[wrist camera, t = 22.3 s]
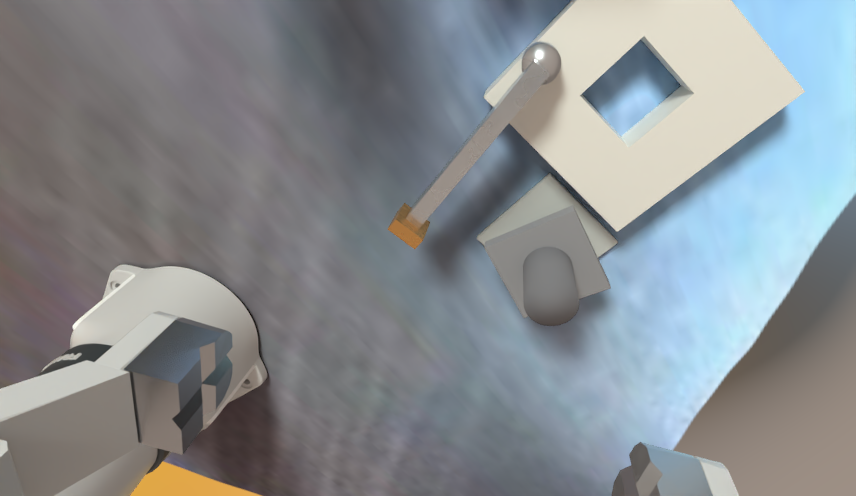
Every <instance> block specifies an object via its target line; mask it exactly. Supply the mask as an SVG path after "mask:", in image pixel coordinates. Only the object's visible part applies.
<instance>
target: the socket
mask: <svg viewBox="0 0 856 496" xmlns="http://www.w3.org/2000/svg"><path fill="white" fill-rule="evenodd" d="M640 39H641V40H642V41H643V42H644V43H645V45H646V46H647V47H648V48H649V49H650V50H651V51H652V53H653V54H654V55H655V56H656V57H657V58H658V59H659V61H660V62H661V63H662V64H663V65H664V66H665V67H666V69H667V70H668V71H669V72H670V73H671V74H672V75H673V77H674V78H675V79H676V80H677V81H678V82H679V83H680V85H681V86H680V87H679V88H678V89H677V90H675V91H674V92H673V93H672V94H671V95H670V96H668V97H667V98H666V99H665V100H664V101H662V102H661V103H660V104H659V105H658V106H657V107H655V108H654V109H653V110H652V111H651V112H649V113H648V114H647V115H646V116H645V117H644V118H642V119H641V120H640V121H639V122H638V123H636V124H635V125H634V126H633V127H632V128H631V129H629V130H628V131H627V132H626V133H625V134H623V135H622V136H620V135H619V134H618V132H617V131H616V130H615V129H614V128H613V127H612V126H611V125H610V124H609V123H608V122H607V121H606V120H605V119H604V117H603V116H602V115H601V114H600V113H599V112H598V111H597V110H596V109H595V108H594V107H593V106H592V105H591V104H590V103H589V101H588V100H587V99H586V98H585V97H584V96H583V95H582V93H583V92H584V91H585V90H586V89H587V88H589V87H590V86H591V85H592V84H593V83H594V82H595V81H596V80H597V79H598V78H599V77H600V76H601V75H603V74H604V73H605V72H606V71H607V70H608V69H609V68H610V67H611V66H612V65H613V64H614V63H615V62H617V61H618V60H619V59H620V58H621V57H622V56H623V55H624V54H625V53H626V52H627V51H628V50H629V49H631V48H632V47H633V46H634V45H635V44H636V43H637V42H638V41H639V40H640ZM539 41H545V42H549V43H551V44H552V45H554V46H555V48H556V49H557V51H558V53H559V54H560V57H561V69H560V72H559V74H558V75H557V77H556V78H555V79H554V80H553V81H551V82H550V83H548V84H545V85H541V86H540V87H539V88H538V90H537V91H536V92H535V93H534V94H533V95H532V97H531V98H530V99H529V100H528V101H527V102H526V104H525V105H524V106H523V107H522V108H521V110H520V111H519V112H518V113H517V114H516V115H515V117H514V118H513V119H512V120H511V121H510V122H509V123H510V124H511V125H512V126H513V127H514V128H515V129H516V130H517V132H518V133H519V134H520V135H521V136H522V137H523V138H524V139H525V140H526V141H527V142H528V143H529V144H530V145H531V146H532V147H533V148H534V149H535V150H536V151H537V152H538V153H539V154H540V155H541V156H542V157H543V158H544V159H545V160H546V161H547V162H548V163H549V164H550V165H551V166H552V167H553V168H554V169H555V170H556V171H557V172H558V173H559V174H560V175H561V176H562V177H563V178H564V179H565V180H566V181H567V182H568V183H569V184H570V185H571V186H572V187H573V188H574V189H575V190H576V191H577V192H578V193H579V194H580V195H581V196H582V197H583V198H584V199H585V200H586V201H587V202H588V203H589V204H590V205H591V206H592V207H593V208H594V209H595V210H596V211H597V212H598V213H599V214H600V215H601V216H602V217H603V218H604V219H605V220H606V221H607V222H608V223H609V224H610V225H611V226H612V227H613V228H614V229H615V230H616V231H617V232H618V231H619V230H621V229H622V228H623V227H625V226H626V225H627V224H629V223H630V222H631V221H633V220H634V219H635V218H637V217H638V216H639V215H641V214H642V213H643V212H645V211H646V210H647V209H649V208H650V207H651V206H653V205H654V204H655V203H657V202H658V201H659V200H661V199H662V198H663V197H665V196H666V195H667V194H669V193H670V192H671V191H673V190H674V189H675V188H677V187H678V186H679V185H681V184H682V183H683V182H685V181H686V180H687V179H689V178H690V177H691V176H693V175H694V174H695V173H697V172H698V171H700V170H701V169H702V168H704V167H705V166H706V165H708V164H709V163H710V162H712V161H713V160H714V159H716V158H717V157H718V156H720V155H721V154H722V153H724V152H725V151H726V150H728V149H729V148H730V147H732V146H733V145H734V144H736V143H737V142H738V141H740V140H741V139H742V138H744V137H745V136H746V135H748V134H749V133H750V132H752V131H753V130H754V129H756V128H757V127H758V126H760V125H761V124H762V123H764V122H765V121H766V120H768V119H769V118H770V117H772V116H773V115H774V114H776V113H777V112H778V111H780V110H781V109H782V108H784V107H785V106H786V105H788V104H789V103H791V102H792V101H793V100H795V99H796V98H797V97H799V96H800V95H801V94H803V93H804V92H805V91H804V90H803V89H802V87H801V86H800V85H799V84H798V82H797V81H796V80H795V79H794V77H793V76H792V75H791V74H790V72H789V71H788V70H787V69H786V67H785V66H784V65H783V64H782V63H781V61H780V60H779V59H778V58H777V56H776V55H775V54H774V53H773V51H772V50H771V49H770V48H769V46H768V45H767V44H766V43H765V41H764V40H763V39H762V38H761V37H760V35H759V34H758V33H757V32H756V30H755V29H754V28H753V27H752V25H751V24H750V23H749V22H748V20H747V19H746V18H745V17H744V15H743V14H742V13H741V12H740V11H739V9H738V8H737V7H736V6H735V4H734V3H733V2H732V1H731V0H572V1H571V2H570V3H569V4H568V5H567V6H566V7H565V8H564V9H563V10H562V11H561V12H560V13H559V14H558V15H557V16H556V17H555V18H554V19H553V20H552V21H551V23H550V24H549V25H548V26H547V27H546V28H545V29H544V30H543V31H542V32H541V33H540V34H539V35H538V36H537V37H536V38H535V39H534V40H533V41H532V42H531V43H530V44H529V45H528V46H527V48H528V47H529V46H530V45H531V44H533V43H535V42H539ZM527 48H526V49H527ZM526 49H525V50H526ZM525 50H524V51H523V52H522V53H521V54H520V55H519V56H518V57H517V58H516V59H515V60H514V61H513V62H512V63H511V64H510V65H509V66H508V67H507V68H506V69H505V70H504V72H503V73H502V74H501V75H500V76H499V77H498V78H497V79H496V80H495V81H494V82H493V83H492V84H491V85H490V86H489V87H488V88H487V89H486V92H485V95H484V98H485V99H486V100H487V101H488V102H489V103H490V104H491V105H492V106H493V107H494V106H495V104H496V103H497V102H498V101H499V100H500V98H501V97H502V96H503V95H504V93H505V92H506V91H507V90H508V89H509V87H510V86H511V85H512V84H513V82H514V81H515V80H516V79H517V78H518V76H519V75H520V74H521V73H522V56H523V54H524V52H525Z"/></svg>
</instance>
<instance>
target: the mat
mask: <svg viewBox="0 0 856 496" xmlns="http://www.w3.org/2000/svg"><path fill="white" fill-rule="evenodd" d="M572 205H573V206H574V208H575V210H576V212H577V214H578V216H579V219H580V221H581V223H582V225H583V227H584V229H585V231H586V234H587V236H588V238H589V240H590V242H591V244H592V246H593V249H594V251H595V253H596V255H597V257H599V256H601V255H602V254H603V253H605V252H606V251H608V250H609V249H610V248H612V247H613V246H614V245H616V244H617V243H618V241H617V240H616V239H615V238H614V237H613V236H612V235H611V234H610V233H609V232H608V231H607V230H606V229H605V228H604V227H603V226H602V225H601V224H600V223H599V222H598V221H597V220H596V219H595V218H594V217H593V216H592V215H591V214H590V213H589V212H588V211H587V210H586V209H585V208H584V206H583V205H582V204H581V203H580V202H579V201H578V200H577V199H576V198H575V197H574V196H573V195H572V194H571V193H570V192H569V191H568V190H567V189H566V188H565V187H564V186H563V185H562V184H561V183H560V182H559V181H558V180H557V179H556V178H555V177H554V176H553V175H552V174H551V173H549V174H548V175H547V176H545V177H544V178H543V179H542V180H541V181H540V182H539V183H537V184H536V185H535V186H534V187H533V188H532V189H530V190H529V191H528V192H527V193H526V194H525V195H524V196H522V197H521V198H520V199H519V200H518V201H517V202H516V203H514V204H513V205H512V206H511V207H510V208H509V209H508V210H506V211H505V212H504V213H503V214H502V215H501V216H500V217H498V218H497V219H496V220H495V221H494V222H493V223H492V224H490V225H489V226H488V227H487V228H486V229H485V230H484V231H482V232H481V233H480V234H479V235H478V236H477V239H478V240H479V241H480V242H481V243H482V244H483V245H484V246H485V241H488V240H490V239H493V238H495V237H497V236H500V235H502V234H505V233H507V232H509V231H512V230H514V229H517V228H519V227H521V226H524V225H526V224H529V223H531V222H533V221H536V220H538V219H541V218H543V217H545V216H548V215H550V214H553V213H555V212H557V211H560V210H562V209H565V208H567V207H570V206H572Z"/></svg>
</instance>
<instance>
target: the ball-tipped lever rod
mask: <svg viewBox="0 0 856 496" xmlns="http://www.w3.org/2000/svg"><path fill="white" fill-rule="evenodd" d="M560 69H561V57H560V54H559V53H558V51H557V49H556V48H555V46H554V45H552V44H551V43H549V42H545V41H539V42H535V43H533V44H531V45H530V46H529V47H528V48H527V49H526V50H525V52H524V54H523V56H522V73H521V74H520V75H519V76H518V78H517V79H516V80H515V81H514V82H513V84H512V85H511V86H510V87H509V89H508V90H507V91H506V92H505V93H504V95H503V96H502V97H501V98H500V100H499V101H498V102H497V103H496V104H495V106H494V107H493V108H492V109H491V111H490V112H489V113H488V114H487V115H486V117H485V118H484V119H483V120H482V122H481V123H480V124H479V125H478V126H477V128H476V129H475V130H474V131H473V133H472V134H471V135H470V136H469V137H468V139H467V140H466V141H465V142H464V144H463V145H462V146H461V147H460V148H459V150H458V151H457V152H456V153H455V155H454V156H453V157H452V158H451V159H450V161H449V162H448V163H447V164H446V166H445V167H444V168H443V169H442V171H441V172H440V173H439V174H438V175H437V177H436V178H435V179H434V180H433V182H432V183H431V184H430V185H429V186H428V188H427V189H426V190H425V191H424V193H423V194H422V195H421V196H420V197H419V199H418V200H417V201H416V202H415V204H414V205H413V206H412V207H409V206H408V205H407V204H405V203H404V204H403V205H402V207H401V208H400V209H399V210H398V212H397V213H396V215H395V217H394V219H393V220H392V222H391V224H390V226H389V228H388V230H389V231H391V232H392V233H393V234H395V235H396V236H397V237H399V238H400V239H401V240H403V241H404V242H405V243H407V244H408V245H410V246H411V247H412V248H414V249H416V248H417V246H418V245H419V244H420V243H421V242H422V241H423V239H424V237H425V234H426V232H427V229H428V226H429V224H430V222H429V221H428V220H427V219H428V218H429V216H430V215H431V214H432V213H433V212H434V211H435V209H436V208H437V207H438V206H439V205H440V203H441V202H442V201H443V200H444V199H445V198H446V196H447V195H448V194H449V193H450V192H451V191H452V189H453V188H454V187H455V186H456V185H457V183H458V182H459V181H460V180H461V179H462V178H463V176H464V175H465V174H466V173H467V172H468V171H469V169H470V168H471V167H472V166H473V165H474V164H475V162H476V161H477V160H478V159H479V158H480V156H481V155H482V154H483V153H484V152H485V151H486V149H487V148H488V147H489V146H490V145H491V144H492V142H493V141H494V140H495V139H496V138H497V137H498V135H499V134H500V133H501V132H502V131H503V129H504V128H505V127H506V126H507V125H508V124H509V122H510V121H511V120H512V119H513V118H514V117H515V115H516V114H517V113H518V112H519V111H520V110H521V108H522V107H523V106H524V105H525V104H526V102H527V101H528V100H529V99H530V98H531V97H532V95H533V94H534V93H535V92H536V91H537V90H538V88H539V87H540V86H541V85H545V84H548V83H550V82H551V81H553V80H554V79H555V78H556V77H557V75H558V74H559V72H560Z"/></svg>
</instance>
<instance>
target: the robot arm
mask: <svg viewBox="0 0 856 496" xmlns="http://www.w3.org/2000/svg"><path fill="white" fill-rule="evenodd" d="M73 329H74V331H73V333H72V336H71V340H70V349H69V350H68V351H66V352H65V353H64V354H63V355H61V356H60V357H58V358H57V359H55V360H53V361H52V362H51V363H49V364H48V365H47V366H46V367H45V368H44V369H43V370H42V372H41V373H40V374H39V375H38V376H36V377H35V378H32V379H29V380H26V381H23V382H20V383H17V384H14V385H11V386H8V387H5V388H1V389H0V496H130V495H131V493H132V492H133V491H134V489H135V488H136V487H137V485H138V484H139V483H140V481H141V480H142V479H143V477H144V476H145V475H146V474H148V473H150V472H152V471H153V470H155V469H156V468H157V467H158V466H159V465H160V464H161V462H162V461H163V460H165V459H166V457H168V456H169V455H170V453H171V452H174V453H178V454H182V455H183V454H184V452H185V451H186V450H187V448H188V447H189V446H190V444H191V443H192V442H193V440H194V439H195V438H196V436H197V435H198V434H199V433H200V431H201V430H205V429H206V428H207V427H208V426H209V425H210V424H211V423H212V422H213V421H214V420H215V419H216V417H217V416H218V415H219V414H220V412H221V411H222V410H223V408H224V407H225V406H226V404H227V403H229V402H231V401H233V400H235V399H237V398H238V397H240V396H242V395H244V394H246V393H248V392H249V391H251V390H253V389H255V388H257V387H259V386H260V385H261V384H262V383H263V382H264V381H265V380H266V378H267V371H266V369H265V366H264V364H263V362H262V360H261V358H260V356H259V350H258V335H257V330H256V327H255V324H254V322H253V319H252V317H251V316H250V314H249V312H248V311H247V309H246V308H245V306H244V305H243V304H242V302H241V301H240V300H239V299H238V298H237V297H236V296H235V295H234V294H233V293H232V292H231V291H230V290H229V289H227V288H226V287H225V286H223V285H222V284H221V283H219V282H218V281H216V280H214V279H213V278H211V277H209V276H207V275H205V274H203V273H200V272H197V271H194V270H191V269H187V268H183V267H173V266H166V267H158V268H152V269H143V268H139V267H135V266H130V265H119V266H117V267H116V268H115V269H114V270H113V271H112V272H111V273H110V276H109V279H108V283H107V286H106V290H105V293H104V296H103V300H101V301H100V302H99V303H98V304H97V305H95V306H94V307H93V308H92V309H91V310H89V311H88V312H87V313H86V314H85V315H83V316H82V317H81V318H80V319H79V320H77V321H76V323H75V324H74V325H73ZM629 456H630V460H631V466H629V467H627V468H624V469H622V470H620V472H619V474H618V476H617V478H616V480H615V482H614V486H613V491H612V496H739V495H738V492H737V490H736V488H735V485H734V483H733V481H732V478H731V476H730V474H729V471H728V469H727V468H726V467H725V466H724V465H723V464H722V463H719V462H716V461H711V460H707V459H704V458H700V457H696V456H691V455H688V454H684V453H680V452H676V451H672V450H668V449H665V448H661V447H657V446H653V445H649V444H646V443H642V442H640V443H639V444H637V445H636V446H634V448H633V450H632V451H631V453H630V455H629Z"/></svg>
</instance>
